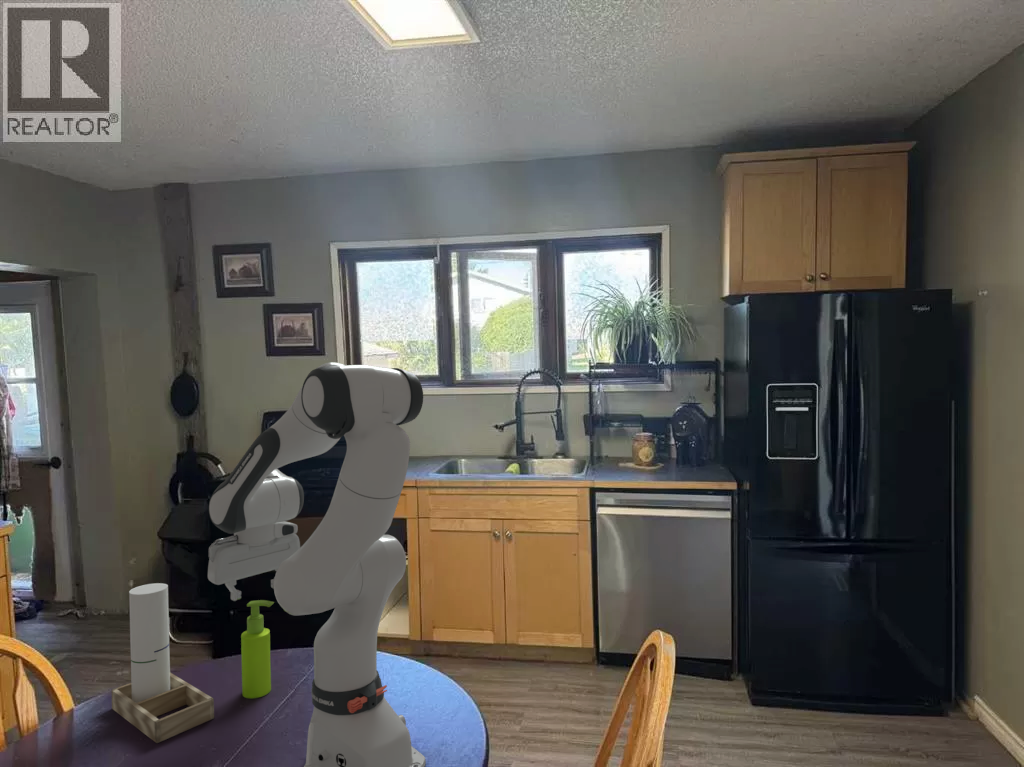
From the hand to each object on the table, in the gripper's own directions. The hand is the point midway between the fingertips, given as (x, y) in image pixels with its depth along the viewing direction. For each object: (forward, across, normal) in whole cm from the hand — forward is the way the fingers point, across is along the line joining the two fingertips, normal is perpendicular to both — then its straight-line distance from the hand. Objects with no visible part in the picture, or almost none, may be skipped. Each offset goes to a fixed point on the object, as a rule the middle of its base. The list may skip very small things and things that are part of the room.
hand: (256, 593), depth 141 cm
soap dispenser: (+22, 0, -1) cm, 22 cm away
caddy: (+22, -17, +7) cm, 29 cm away
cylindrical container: (+22, -17, +12) cm, 31 cm away
